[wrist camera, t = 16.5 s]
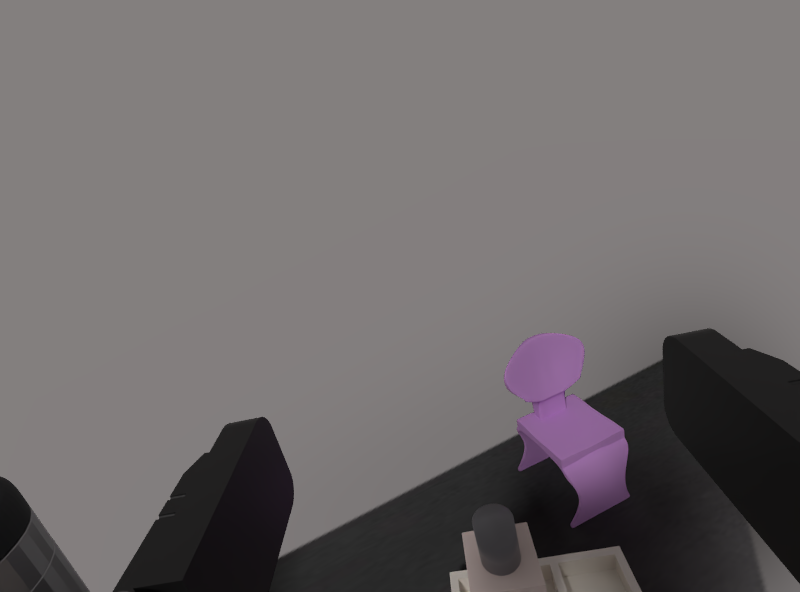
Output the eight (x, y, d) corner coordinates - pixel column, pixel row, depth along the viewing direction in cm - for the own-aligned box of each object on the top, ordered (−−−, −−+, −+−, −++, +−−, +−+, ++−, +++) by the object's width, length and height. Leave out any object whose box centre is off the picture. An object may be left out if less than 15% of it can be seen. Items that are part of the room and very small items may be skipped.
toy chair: (566, 538, 39) (546, 391, 34) (509, 473, 47) (485, 346, 42) (643, 495, 41) (636, 350, 36) (576, 440, 49) (561, 314, 44)
